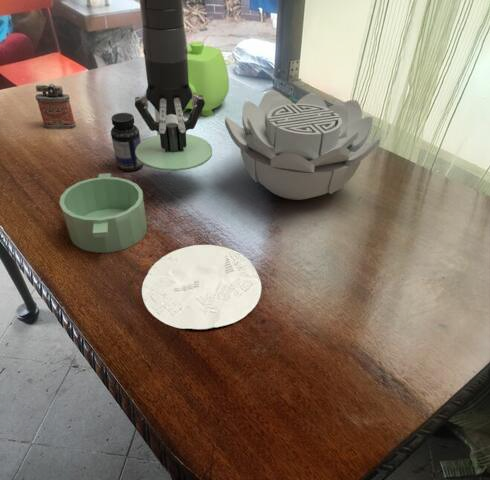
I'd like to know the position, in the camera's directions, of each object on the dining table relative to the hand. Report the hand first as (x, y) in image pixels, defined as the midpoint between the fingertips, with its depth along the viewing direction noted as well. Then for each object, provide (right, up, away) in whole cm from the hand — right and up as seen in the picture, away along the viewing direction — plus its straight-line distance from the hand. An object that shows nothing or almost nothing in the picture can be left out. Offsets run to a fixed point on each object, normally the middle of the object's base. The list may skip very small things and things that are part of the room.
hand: (173, 148), depth 92 cm
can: (-4, +8, +20) cm, 22 cm away
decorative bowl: (+25, -4, +9) cm, 27 cm away
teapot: (-2, +26, +37) cm, 45 cm away
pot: (-12, -18, -5) cm, 22 cm away
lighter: (-34, +16, +25) cm, 45 cm away
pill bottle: (-12, +1, +12) cm, 17 cm away
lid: (0, -1, 0) cm, 1 cm away
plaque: (+7, -30, -15) cm, 34 cm away
